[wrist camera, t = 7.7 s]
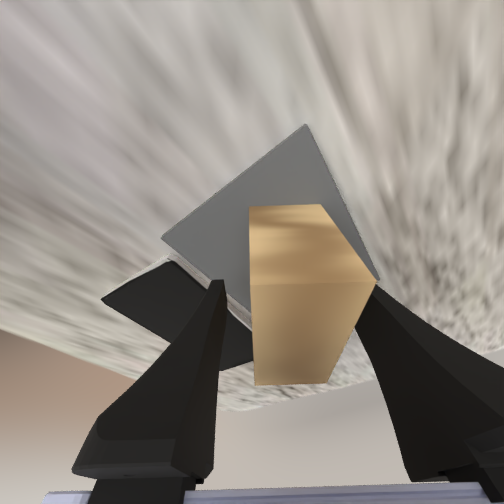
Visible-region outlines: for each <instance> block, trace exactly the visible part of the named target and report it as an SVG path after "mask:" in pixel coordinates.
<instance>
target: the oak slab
mask: <svg viewBox="0 0 504 504" xmlns="http://www.w3.org/2000/svg"><path fill="white" fill-rule="evenodd" d="M249 245H250V294H251V315H252V336H253V358H254V379H255V386H258V385H289V384H321V383H327V381H328V379H329V377H330V375H331V373H332V371H333V369H334V367H335V365H336V363H337V361H338V359H339V357H340V355H341V353H342V351H343V349H344V347H345V345H346V343H347V341H348V339H349V337H350V335H351V333H352V331H353V329H354V327H355V325H356V323H357V321H358V319H359V317H360V315H361V313H362V311H363V309H364V307H365V305H366V302H367V300H368V298H369V296H370V294H371V292H372V290H373V288H374V286H375V284H376V282H377V281H376V279H375V278H374V276H373V275H372V274H371V272H370V271H369V270H368V268H367V267H366V266H365V264H364V263H363V261H362V260H361V259H360V257H359V256H358V255H357V253H356V252H355V250H354V249H353V248H352V246H351V245H350V244H349V242H348V241H347V240H346V238H345V237H344V235H343V234H342V233H341V231H340V230H339V229H338V227H337V226H336V224H335V223H334V222H333V220H332V219H331V218H330V216H329V215H328V214H327V212H326V211H325V209H324V208H323V207H322V205H321V204H309V205H279V206H249Z"/></svg>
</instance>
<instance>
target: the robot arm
mask: <svg viewBox="0 0 504 504" xmlns="http://www.w3.org/2000/svg"><path fill="white" fill-rule="evenodd" d="M227 305H228V302H227V296H226V290H225V283H224V279H216V280H212V281H211V283H210V285H209V287H208V289H207V291H206V293H205V294H204V296H203V298H202V300H201V301H200V303H199V305H198V306H197V308H196V309H195V311H194V313H193V314H192V316H191V317H190V319H189V320H188V321H187V323H186V324H185V326H184V327H183V329H182V330H181V331H180V333H179V334H178V335H177V336H176V338H175V339H174V340H173V341H172V343H171V344H170V345H169V346H168V347H167V349H166V350H165V351H164V352H163V353H162V354H161V356H160V357H159V358H158V359H157V360H156V361H155V362H154V363H153V364H152V366H151V367H150V368H149V369H148V370H147V371H146V372H145V373H144V374H143V375H142V376H141V377H140V378H139V379H138V380H137V381H136V382H135V383H134V384H133V385H132V386H131V387H130V388H129V389H128V390H127V391H126V392H124V393H123V394H122V395H121V396H120V397H119V398H118V399H117V400H116V401H115V402H114V403H112V404H111V405H110V406H109V407H108V408H107V409H106V410H105V411H104V412H103V413H102V414H100V415H99V416H98V418H97V420H96V422H95V423H94V425H93V427H92V428H91V430H90V432H89V434H88V436H87V438H86V440H85V442H84V444H83V446H82V448H81V450H80V452H79V454H78V456H77V459H76V461H75V463H74V465H73V467H72V473H74V474H76V475H79V476H84V477H88V478H93V479H97V481H96V484H95V486H94V488H93V491H55V492H49V493H47V494H46V495H45V497H44V499H43V501H42V503H41V504H504V368H503V367H501V366H499V365H497V364H495V363H493V362H491V361H489V360H488V359H486V358H484V357H482V356H480V355H479V354H477V353H475V352H473V351H472V350H470V349H468V348H466V347H465V346H463V345H461V344H460V343H458V342H456V341H455V340H453V339H451V338H450V337H448V336H446V335H445V334H443V333H442V332H440V331H439V330H437V329H436V328H434V327H432V326H431V325H429V324H428V323H426V322H425V321H424V320H422V319H421V318H419V317H418V316H417V315H415V314H414V313H412V312H411V311H410V310H408V309H407V308H406V307H404V306H403V305H402V304H400V303H399V302H398V301H396V300H395V299H394V298H393V297H391V296H390V295H389V294H388V293H386V292H385V291H384V290H383V289H381V288H380V287H379V286H378V285H376V284H375V286H374V288H373V290H372V292H371V294H370V296H369V298H368V300H367V302H366V305H365V307H364V309H363V311H362V313H361V315H360V317H359V319H358V321H357V323H356V325H355V330H356V332H357V334H358V336H359V338H360V340H361V342H362V344H363V346H364V348H365V350H366V352H367V354H368V356H369V358H370V361H371V363H372V365H373V368H374V371H375V373H376V376H377V379H378V381H379V384H380V387H381V390H382V393H383V395H384V398H385V401H386V404H387V407H388V410H389V414H390V417H391V420H392V423H393V426H394V430H395V433H396V437H397V440H398V444H399V447H400V451H401V455H402V459H403V463H404V466H405V469H406V471H407V473H408V476H409V478H410V480H411V482H437V481H449V482H450V483H423V484H391V485H358V486H324V487H294V488H293V487H292V488H259V489H228V490H195V487H196V484H203V483H204V478H207V476H208V475H209V474H210V472H211V471H212V470H213V464H214V443H215V423H216V406H217V391H218V378H219V366H220V358H221V352H222V346H223V340H224V334H225V328H226V321H227Z"/></svg>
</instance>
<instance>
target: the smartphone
mask: <svg viewBox="0 0 504 504" xmlns="http://www.w3.org/2000/svg"><path fill="white" fill-rule="evenodd" d="M208 287H209V284H208V283H207V282H205V281H204V280H203V279H202V278H201V277H200V276H199V275H198V274H197V273H195V272H194V271H193V270H192V269H191V268H190V267H189V266H188V265H186V264H185V263H184V262H183V261H182V260H181V259H180V258H179V257H177V256H175V255H172V254H167V255H165V256H164V257H162V258H161V259H159V260H157V261H156V262H154V263H153V264H151V265H149V266H148V267H146V268H145V269H143V270H141V271H140V272H138V273H137V274H135V275H133V276H132V277H130V278H129V279H127V280H125V281H124V282H122V283H121V284H119V285H117V286H116V287H114V288H113V289H111V290H109V291H108V292H106V293H105V294H104V296H103V297H102V298H101V300H102V301H103V302H104V304H106V305H107V306H109V307H111V308H113V309H114V310H116V311H118V312H119V313H121V314H123V315H124V316H126V317H128V318H129V319H131V320H133V321H134V322H136V323H138V324H139V325H141V326H143V327H145V328H146V329H148V330H150V331H151V332H153V333H155V334H156V335H158V336H160V337H161V338H163V339H165V340H166V341H168V342H170V343H172V341H173V340H174V339H175V338H176V336H177V335H178V334H179V333H180V331H181V330H182V329H183V327H184V326H185V324H186V323H187V321H188V320H189V319H190V317H191V316H192V314H193V313H194V311H195V309H196V308H197V306H198V305H199V303H200V301H201V300H202V298H203V296H204V294H205V293H206V291H207V289H208ZM227 302H228V301H227ZM251 361H254V358H253V336H252V322H250V321H249V320H248V319H247V318H246V317H245V316H244V315H243V314H241V313H240V312H239V311H238V310H237V309H236V308H235V307H234V306H232V305H231V304H230V303H229V302H228V305H227V321H226V328H225V334H224V340H223V346H222V352H221V358H220V366H219V371H224V370H227V369H230V368H233V367H236V366H239V365H242V364H245V363H248V362H251Z"/></svg>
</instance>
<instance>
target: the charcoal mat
mask: <svg viewBox="0 0 504 504" xmlns="http://www.w3.org/2000/svg"><path fill="white" fill-rule="evenodd" d="M309 204H321V205H322V207H323V208H324V209H325V211H326V212H327V214H328V215H329V216H330V218H331V219H332V220H333V222H334V223H335V224H336V226H337V227H338V229H339V230H340V231H341V233H342V234H343V235H344V237H345V238H346V240H347V241H348V242H349V244H350V245H351V246H352V248H353V249H354V250H355V252H356V253H357V255H358V256H359V257H360V259H361V260H362V261H363V263H364V264H365V266H366V267H367V268H368V270H369V271H370V272H371V274H372V275H373V276H374V278H375V279H376V281H377V280H380V278H379V276H378V274H377V271H376V269H375V267H374V265H373V263H372V261H371V259H370V257H369V254H368V252H367V250H366V248H365V246H364V244H363V242H362V240H361V238H360V235H359V233H358V231H357V229H356V227H355V225H354V223H353V221H352V218H351V216H350V214H349V212H348V210H347V208H346V206H345V204H344V202H343V199H342V197H341V195H340V193H339V191H338V189H337V187H336V185H335V182H334V180H333V178H332V176H331V174H330V172H329V170H328V168H327V166H326V163H325V161H324V159H323V157H322V155H321V153H320V151H319V149H318V146H317V144H316V142H315V140H314V138H313V136H312V134H311V132H310V129H309V127H308V125H307V124H304V125H303V126H302V127H300V128H299V129H298V130H297V131H295V132H294V133H293V134H292V135H290V136H289V137H288V138H286V139H285V140H284V141H283V142H281V143H280V144H279V145H277V146H276V147H275V148H274V149H272V150H271V151H270V152H268V153H267V154H266V155H265V156H263V157H262V158H261V159H259V160H258V161H257V162H256V163H254V164H253V165H252V166H251V167H249V168H248V169H247V170H245V171H244V172H243V173H242V174H240V175H239V176H238V177H236V178H235V179H234V180H233V181H231V182H230V183H229V184H227V185H226V186H225V187H224V188H222V189H221V190H220V191H219V192H217V193H216V194H215V195H213V196H212V197H211V198H210V199H208V200H207V201H206V202H204V203H203V204H202V205H201V206H199V207H198V208H197V209H195V210H194V211H193V212H192V213H190V214H189V215H188V216H187V217H185V218H184V219H183V220H181V221H180V222H179V223H178V224H176V225H175V226H174V227H172V228H171V229H170V230H169V231H167V232H166V233H165V234H163V236H162V237H161V239H162V240H163V241H165V242H166V243H167V244H168V245H169V246H171V247H172V248H173V249H174V250H175V251H177V252H178V253H179V254H180V255H182V256H183V257H184V258H185V259H186V260H188V261H189V262H190V263H191V264H192V265H194V266H195V267H196V268H197V269H198V270H200V271H201V272H202V273H203V274H205V275H206V276H207V277H208V278H209V279H211V280H216V279H224V283H225V290H226V293H228V294H229V295H230V296H231V297H232V298H234V299H235V300H236V301H237V302H238V303H240V304H241V305H242V306H243V307H245V308H246V309H247V310H248V311H249V312H251V294H250V245H249V206H279V205H309Z"/></svg>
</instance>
